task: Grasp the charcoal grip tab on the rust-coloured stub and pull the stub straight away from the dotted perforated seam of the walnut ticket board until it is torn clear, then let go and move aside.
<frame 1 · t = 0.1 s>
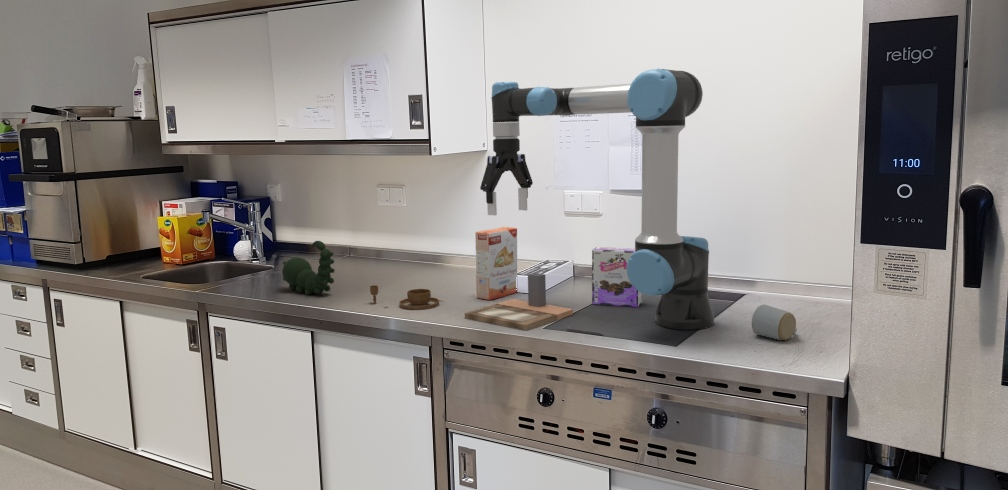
hand: (507, 212, 218), 28 cm above the counter, fingers open, 13 cm apart
toy figurine: (307, 292, 250), on the counter
ticket board: (510, 319, 209), on the counter
cracker box: (497, 296, 238), on the counter
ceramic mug: (776, 337, 186), on the counter
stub: (533, 293, 216), point 5 cm above the counter, slide at 0.0 cm
candy box: (616, 304, 223), on the counter
place setting: (410, 305, 231), on the counter
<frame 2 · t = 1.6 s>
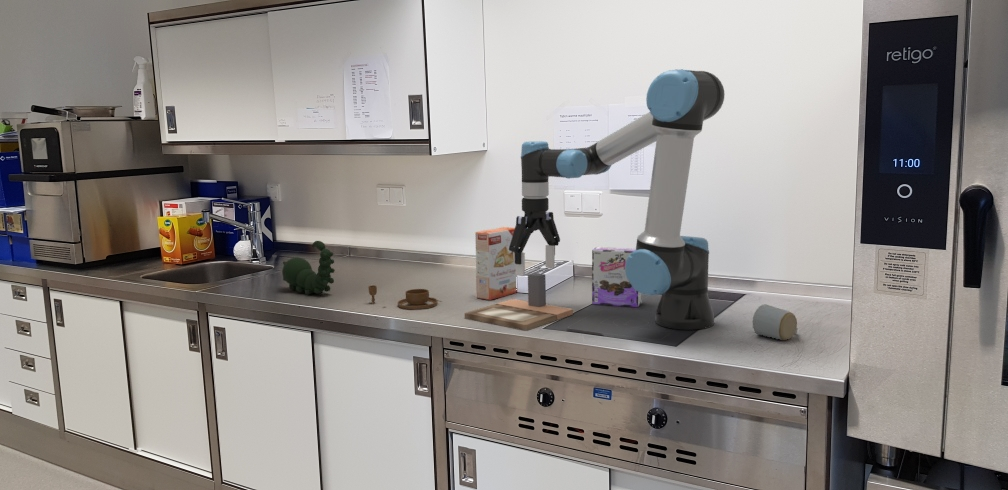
hand: (535, 271, 216), 11 cm above the counter, fingers open, 13 cm apart
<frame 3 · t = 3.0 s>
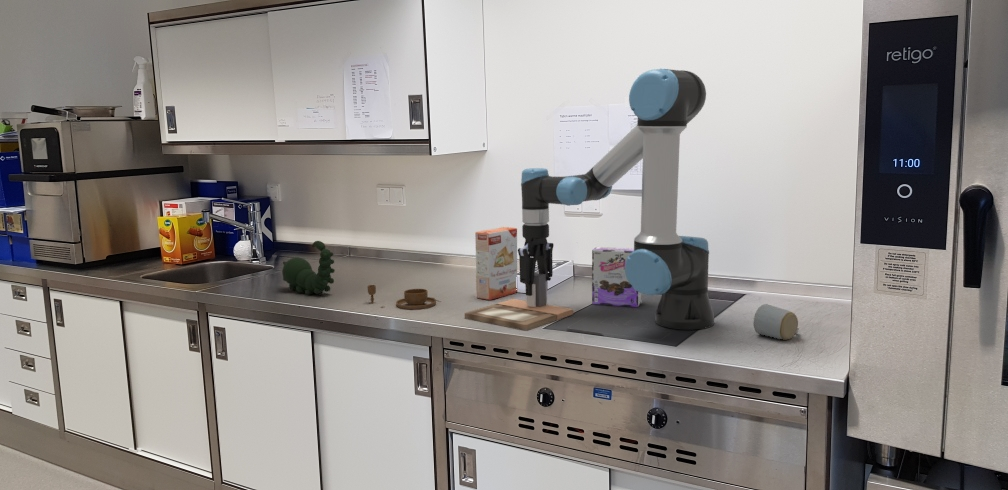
hand: (537, 304, 217), 2 cm above the counter, fingers closed on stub, 5 cm apart
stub: (533, 293, 216), point 5 cm above the counter, slide at 0.1 cm, touching gripper
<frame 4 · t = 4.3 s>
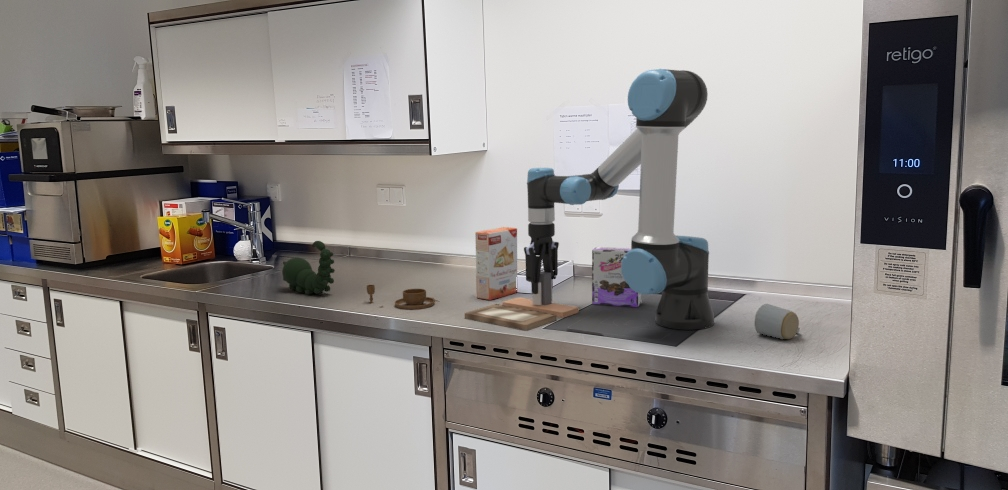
hand: (542, 302, 219), 2 cm above the counter, fingers closed on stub, 4 cm apart
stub: (539, 291, 218), point 5 cm above the counter, slide at 2.7 cm, touching gripper
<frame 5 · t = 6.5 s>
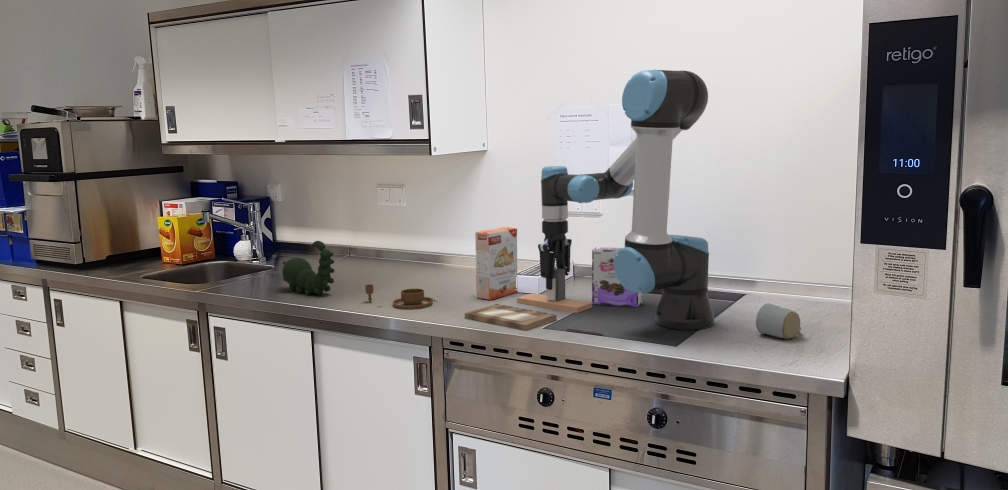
hand: (555, 298, 224), 2 cm above the counter, fingers closed on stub, 4 cm apart
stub: (553, 287, 223), point 5 cm above the counter, slide at 9.4 cm, touching gripper
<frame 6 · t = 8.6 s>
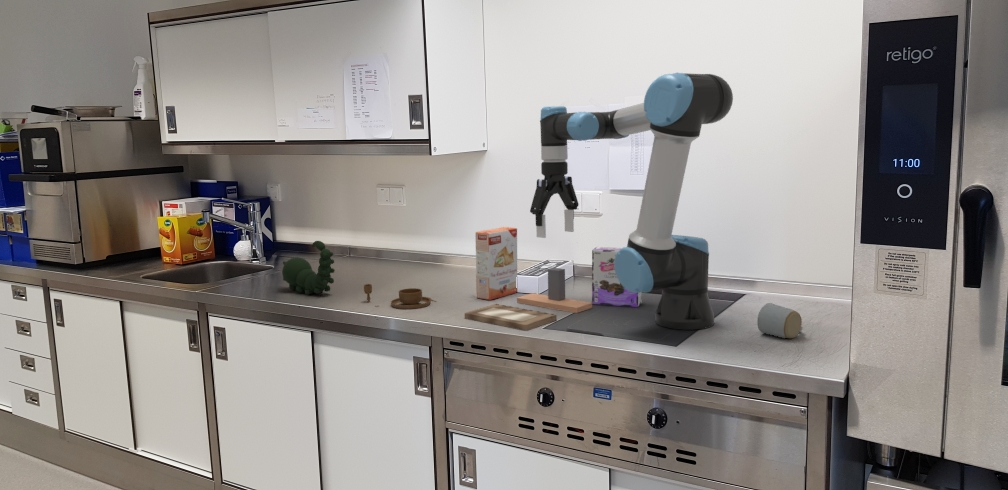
hand: (555, 234, 221), 21 cm above the counter, fingers open, 13 cm apart
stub: (553, 287, 223), point 5 cm above the counter, slide at 9.3 cm
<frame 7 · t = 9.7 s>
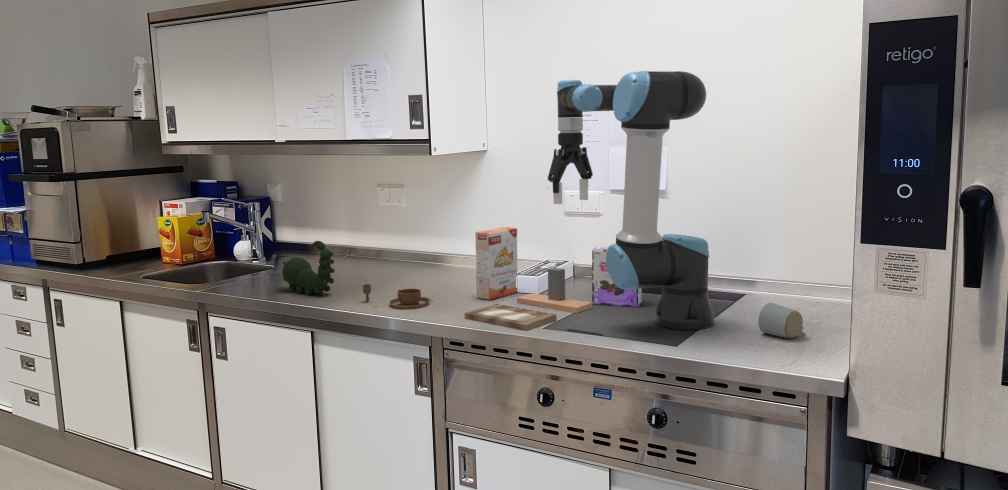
hand: (571, 201, 234), 29 cm above the counter, fingers open, 13 cm apart
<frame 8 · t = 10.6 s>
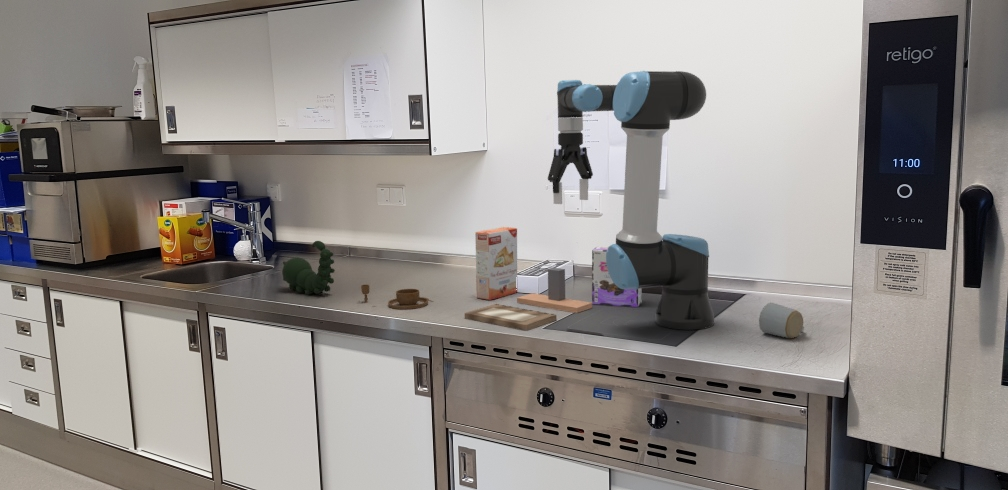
hand: (571, 201, 234), 29 cm above the counter, fingers open, 13 cm apart
at the end: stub slide at 9.3 cm; the gripper is holding nothing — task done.
